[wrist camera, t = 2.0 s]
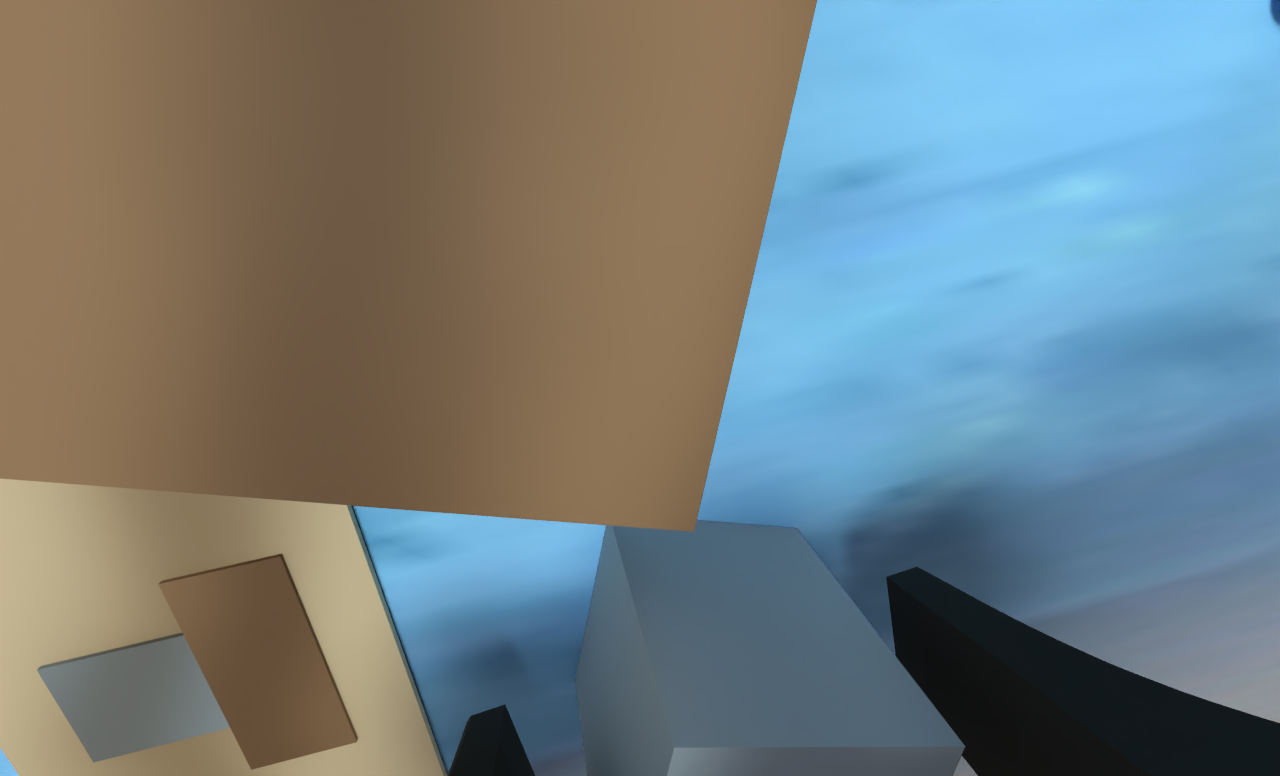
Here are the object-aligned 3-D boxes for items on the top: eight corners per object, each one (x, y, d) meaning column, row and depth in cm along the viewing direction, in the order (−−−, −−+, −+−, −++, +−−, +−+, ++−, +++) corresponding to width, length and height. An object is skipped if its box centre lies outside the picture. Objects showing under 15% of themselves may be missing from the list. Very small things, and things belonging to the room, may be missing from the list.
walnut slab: (764, -105, 10) (868, -218, 7) (650, 450, 12) (694, 531, 9) (60, -333, 8) (-194, -626, 5) (86, 391, 10) (-76, 472, 7)
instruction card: (308, 386, 11) (303, 392, 11) (459, 808, 14) (458, 821, 14) (-164, 481, 10) (-183, 489, 10) (118, 903, 14) (110, 919, 13)
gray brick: (795, 527, 14) (965, 746, 9) (749, 682, 15) (874, 956, 10) (608, 511, 13) (674, 747, 8) (575, 678, 14) (613, 979, 9)
